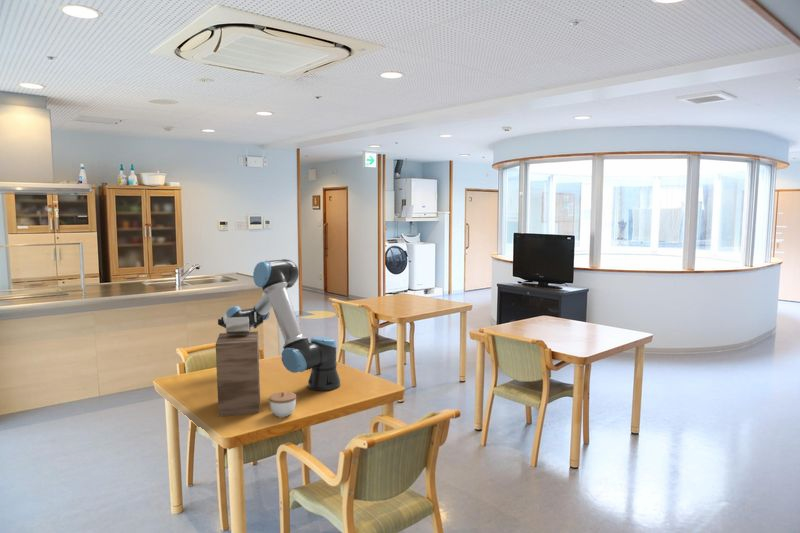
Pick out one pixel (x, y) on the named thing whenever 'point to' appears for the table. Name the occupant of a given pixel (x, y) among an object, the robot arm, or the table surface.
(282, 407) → the lidded jar
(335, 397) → the table surface
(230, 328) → the pale grey block
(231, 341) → the stand
